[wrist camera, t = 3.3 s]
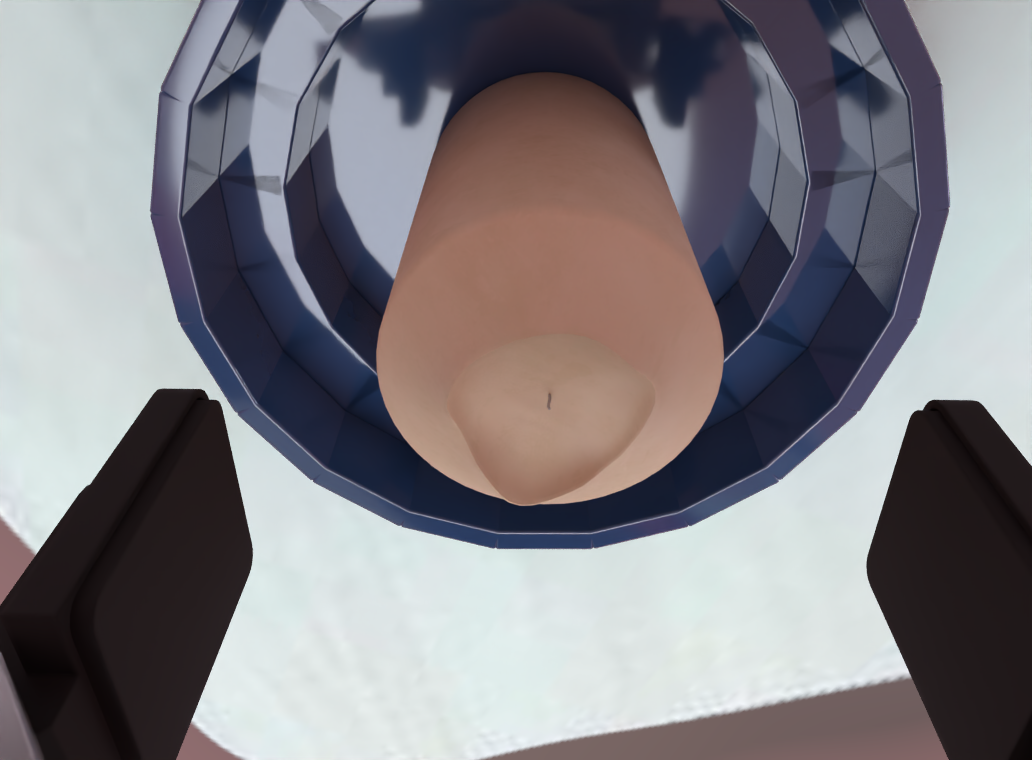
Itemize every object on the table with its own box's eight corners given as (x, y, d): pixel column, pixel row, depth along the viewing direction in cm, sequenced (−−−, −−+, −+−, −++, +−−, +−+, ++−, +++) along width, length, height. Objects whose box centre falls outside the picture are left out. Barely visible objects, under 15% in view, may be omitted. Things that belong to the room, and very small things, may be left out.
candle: (595, 316, 23) (632, 603, 14) (399, 240, 21) (314, 502, 13) (699, 126, 20) (822, 344, 11) (480, 27, 19) (438, 187, 10)
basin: (134, 246, 22) (41, 344, 18) (451, -393, 15) (420, -478, 11) (595, 506, 27) (607, 633, 22) (998, 107, 20) (1124, 182, 16)
